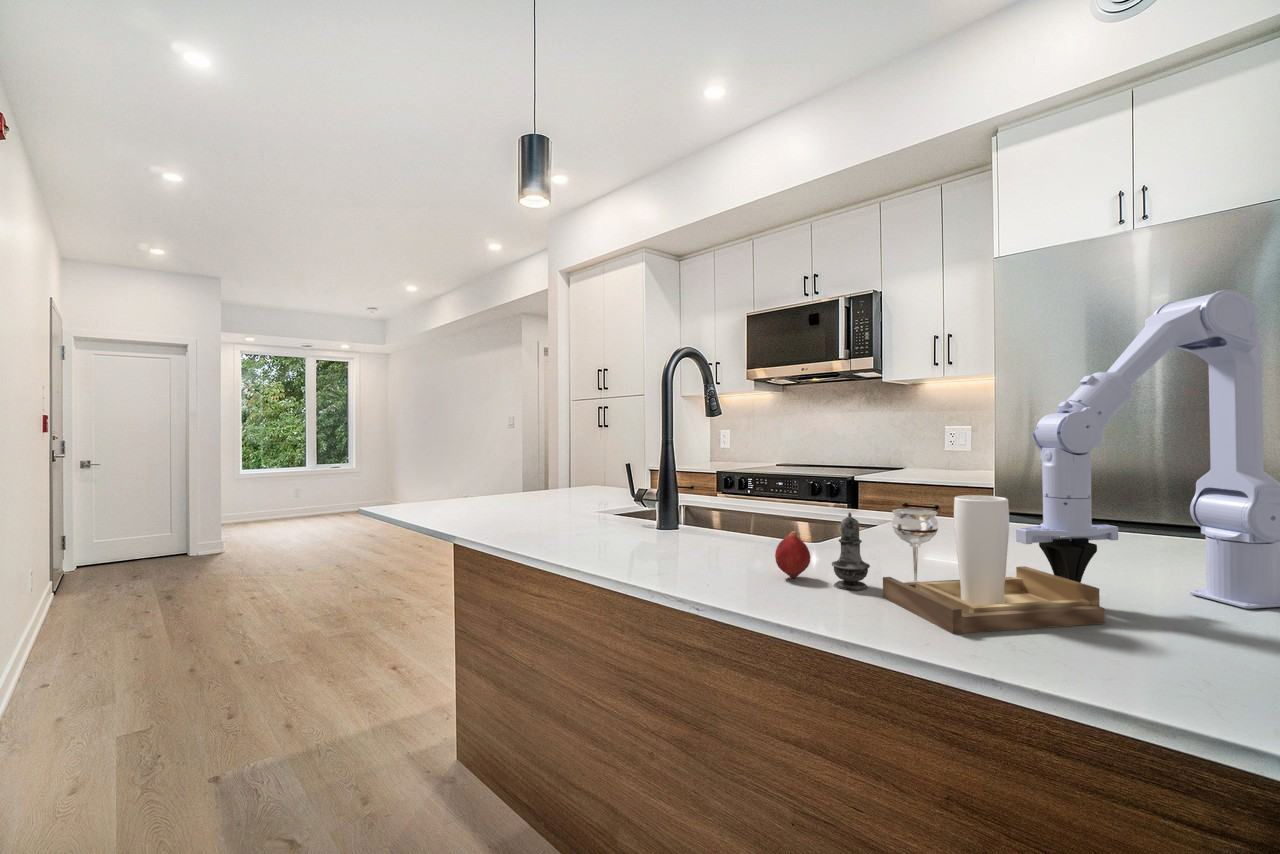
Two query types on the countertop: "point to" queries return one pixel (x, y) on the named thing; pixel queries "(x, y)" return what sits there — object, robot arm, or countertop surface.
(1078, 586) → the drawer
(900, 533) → the wineglass
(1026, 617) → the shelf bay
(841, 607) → the countertop surface
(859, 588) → the salt shaker
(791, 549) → the onion
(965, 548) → the drinking glass
